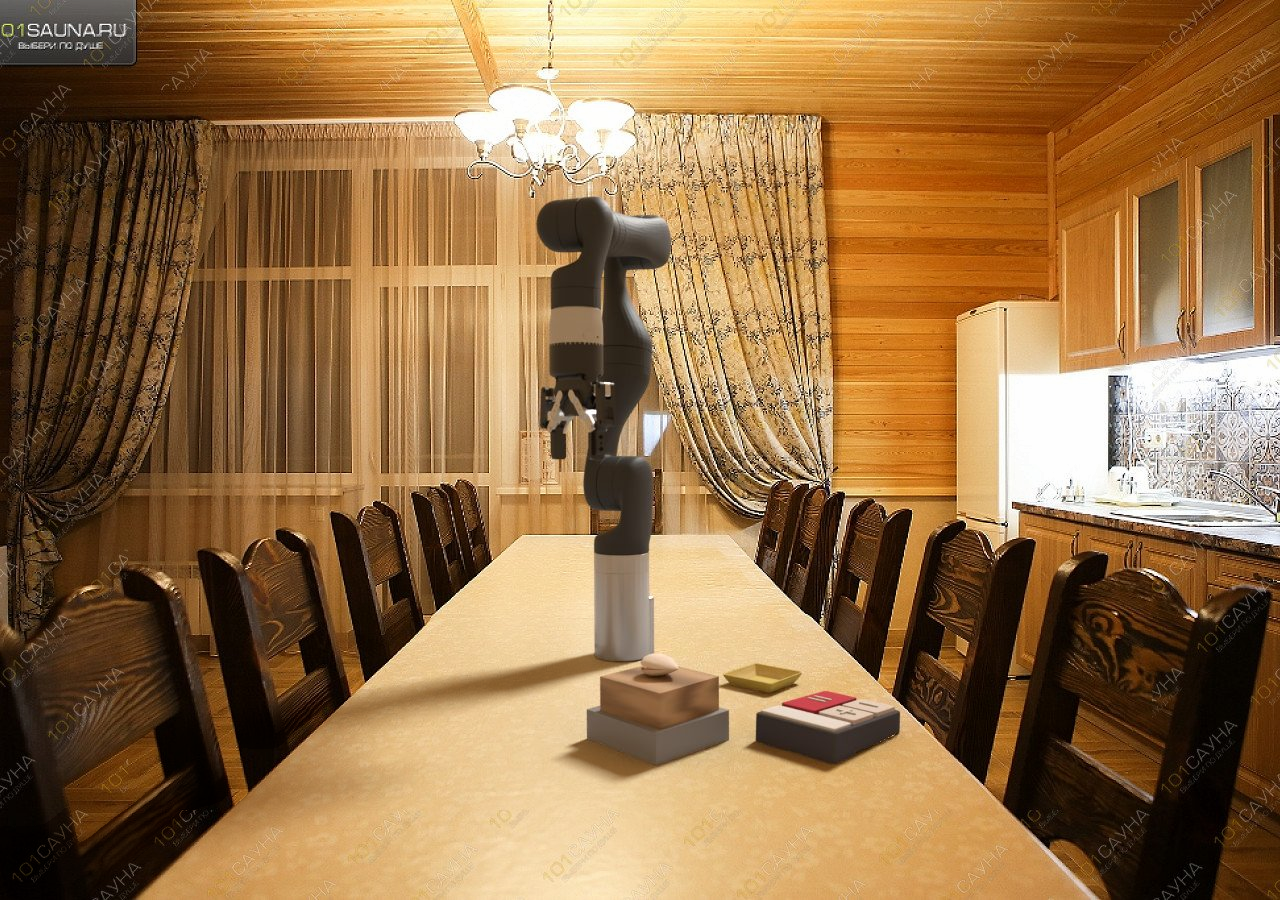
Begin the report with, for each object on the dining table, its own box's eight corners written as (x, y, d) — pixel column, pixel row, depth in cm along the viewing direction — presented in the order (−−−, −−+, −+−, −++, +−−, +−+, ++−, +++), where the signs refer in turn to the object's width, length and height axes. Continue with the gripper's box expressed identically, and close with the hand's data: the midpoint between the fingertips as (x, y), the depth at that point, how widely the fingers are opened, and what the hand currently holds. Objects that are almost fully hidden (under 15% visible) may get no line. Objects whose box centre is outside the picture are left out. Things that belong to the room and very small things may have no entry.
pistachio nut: (656, 669, 106) (655, 648, 106) (689, 675, 103) (688, 654, 103) (633, 676, 103) (633, 655, 103) (667, 683, 100) (667, 661, 100)
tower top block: (658, 693, 110) (658, 661, 110) (718, 709, 103) (718, 676, 103) (600, 710, 103) (600, 676, 103) (660, 729, 96) (660, 693, 96)
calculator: (901, 704, 105) (835, 726, 95) (901, 740, 105) (834, 766, 94) (824, 687, 113) (754, 706, 102) (823, 720, 113) (753, 743, 102)
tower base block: (659, 720, 111) (658, 689, 111) (729, 743, 103) (728, 710, 103) (586, 742, 103) (586, 709, 103) (656, 769, 94) (656, 733, 94)
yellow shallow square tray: (721, 687, 126) (721, 673, 126) (755, 675, 133) (754, 661, 133) (771, 698, 120) (771, 683, 120) (803, 685, 127) (803, 671, 127)
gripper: (630, 340, 117) (630, 459, 117) (567, 349, 128) (567, 458, 128) (586, 335, 112) (587, 460, 112) (524, 345, 123) (525, 459, 123)
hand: (576, 459), depth 120 cm, fingers open, 8 cm apart
